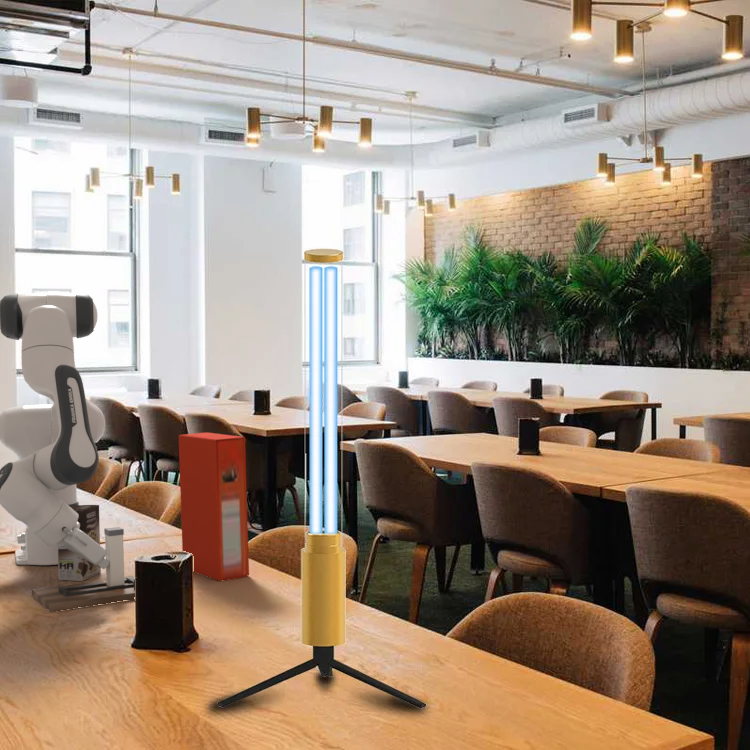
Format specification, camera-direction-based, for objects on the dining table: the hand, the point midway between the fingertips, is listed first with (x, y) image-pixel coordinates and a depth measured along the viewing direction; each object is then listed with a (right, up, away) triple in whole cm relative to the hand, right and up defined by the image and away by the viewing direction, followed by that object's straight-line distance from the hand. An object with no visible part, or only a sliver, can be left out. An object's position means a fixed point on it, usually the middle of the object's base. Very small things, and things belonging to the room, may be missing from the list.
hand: (105, 565), depth 224 cm
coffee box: (-10, -6, +18) cm, 22 cm away
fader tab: (+2, -4, +1) cm, 5 cm away
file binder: (+21, -5, +20) cm, 29 cm away
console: (-2, -6, -1) cm, 7 cm away
